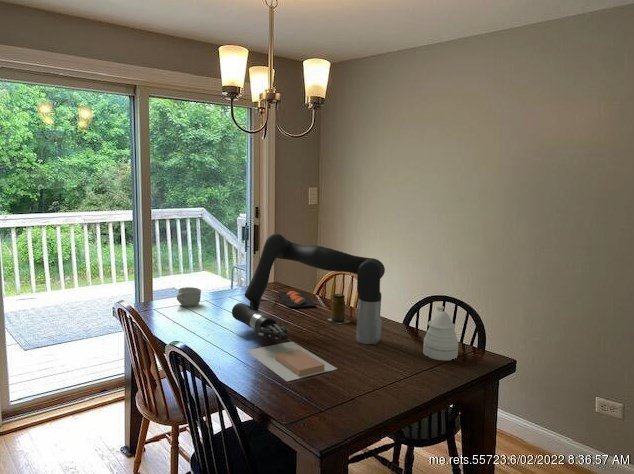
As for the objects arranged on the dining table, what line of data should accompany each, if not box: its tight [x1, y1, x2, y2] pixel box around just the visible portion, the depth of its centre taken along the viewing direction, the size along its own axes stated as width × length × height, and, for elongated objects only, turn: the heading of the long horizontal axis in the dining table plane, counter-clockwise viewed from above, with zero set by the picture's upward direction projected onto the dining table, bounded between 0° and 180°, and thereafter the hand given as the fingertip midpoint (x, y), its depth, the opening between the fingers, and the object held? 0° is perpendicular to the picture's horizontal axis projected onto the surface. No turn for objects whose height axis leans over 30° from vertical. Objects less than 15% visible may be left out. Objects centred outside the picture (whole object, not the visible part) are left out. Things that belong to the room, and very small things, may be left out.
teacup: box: [176, 286, 202, 308], centre depth 234 cm, size 14×11×8 cm
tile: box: [275, 349, 324, 376], centre depth 165 cm, size 2×10×16 cm
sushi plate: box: [260, 290, 316, 310], centre depth 248 cm, size 29×30×4 cm
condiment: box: [327, 293, 352, 325], centre depth 218 cm, size 7×8×12 cm
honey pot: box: [422, 305, 460, 361], centre depth 182 cm, size 13×13×18 cm
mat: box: [245, 341, 338, 385], centre depth 170 cm, size 30×20×1 cm, turn 34°
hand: (285, 338), depth 172 cm, fingers closed
